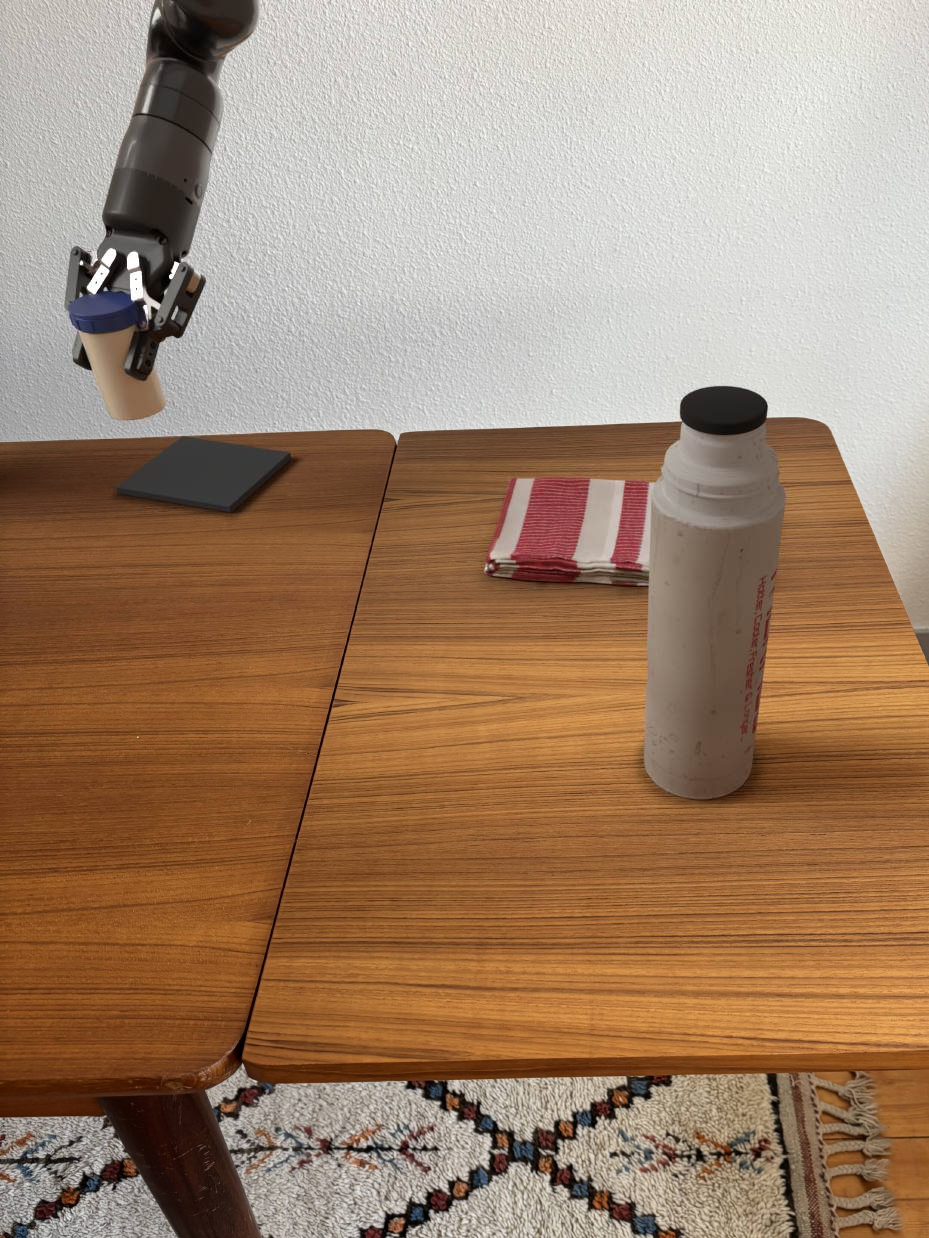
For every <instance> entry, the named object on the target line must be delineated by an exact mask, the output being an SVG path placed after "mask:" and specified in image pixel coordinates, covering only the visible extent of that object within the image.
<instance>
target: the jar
mask: <svg viewBox="0 0 929 1238" xmlns="http://www.w3.org/2000/svg"><path fill="white" fill-rule="evenodd" d="M77 331H79V330H77ZM134 331H136V332H139V329H138V328H137V322H136V323H134V324H132V325H130V326H128V327H125V328H122V329H119V330H114V331H109V332H100V333H90V332H83V331H79V334H80V337H81V340H82V343H83V346H84V348H85V351H86V354H87V357H88V360H89V362H90V365H91V368H92V371H91V372H92V374H93V377H94V379H95V382H96V385H97V388H98V391H99V393H100V397H101V399H102V401H103V404H104V407H105V410H106V413H107V415H108V416H109V418H111V419H114V420H118V421H128V422H129V421H138V420H143V419H146V418H150V417H153V416H155V415H157V414H159V413H161V412H162V411H163V410H164V409H165V408H166V407H167V404H168V401H167V398H166V395H165V392H164V388H163V385H162V382H161V379H160V375H159V372H158V369H157V366H156V363H154V367H153V370H152V372H151V374H150V375H148V378H147V380H146V381H140V380H136V379H135V378H133V377H131V376H129V375H127V374H126V373H125V371H124V366H125V362H126V359H127V355H128V351H129V347H130V344H131V340H132V336H133V333H134Z"/></svg>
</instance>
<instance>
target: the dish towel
mask: <svg viewBox="0 0 929 1238" xmlns="http://www.w3.org/2000/svg"><path fill="white" fill-rule="evenodd" d="M655 482H656V481H655ZM655 482H651V481H643V480H631V479H630V480H629V479H627V480H622V479H621V480H619V479H604V478H592V477H591V478H590V477H566V476H543V477H534V478H533V477H532V478H517V477H516V478H515V477H513V478H512V477H511V478H509V483H508V486H507V488H506V491H505V492H506V493H505V497H504V499H503V505H502V506H501V511H500V513H499V517H498V520H497V524H496V527H495V530H494V533H493V537H492V540H491V542H490V544H489V547H488V550H487V555H486V558H485V567H484V570H483V572H484V574H485V575H486V576H490V577H500V578H510V579H516V580H522V581H538V582H550V583H581V582H582V583H594V584H605V585H621V586H628V587H629V586H630V587H631V586H634V587H635V586H636V587H638V586H639V587H641V586H643V587H644V586H645V587H649V562H650V528H651V494H652V489H653V486H654V484H655Z"/></svg>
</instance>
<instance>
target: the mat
mask: <svg viewBox="0 0 929 1238" xmlns="http://www.w3.org/2000/svg"><path fill="white" fill-rule="evenodd" d="M291 460H292V454H291V452H289V451H282V450H276V449H271V448H270V449H269V448H264V447H263V448H262V447H255V446H250V445H242V444H237V443H229V442H223V441H218V440H217V441H216V440H210V439H203V438H197V437H190V436H189V437H188V436H183V435H182V436H180V438H178V439H176V441H175V442H173V443H171V444H170V445H168V447H166V448H165V449H163V450H162V451H161V452H160V453H158V454H157V455H156V456H155V457H153V458H152V459H150V460H149V461H148V462H147V463H145V464H144V465H142V467H140V468H139V469H138V470H136V471H135V472H134V473H132V474H131V475H130V476H128V477H127V478H126V479H125V480H123V481H121V483H119V484H118V485H117V486H116V487H115V489H116V492H117V494H118V495H125V496H131V497H136V498H141V499H148V500H154V501H160V502H164V503H172V504H176V505H177V504H178V505H182V506H189V507H194V508H200V509H206V510H211V511H218V512H223V513H229V514H232V513H233V512H235V511H236V510H237V508H239V507H240V506H241V505H242V504H243V503H244V502H245V501H246V500H248V499H249V498H250V497H251V496H253V494H254V493H255V492H257V491H258V490H259V489H260V488H261V487H262V486H264V484H265V483H266V482H269V480H270V479H271V478H272V477H273V476H274V475H275V474H277V473H278V472H279V471H280V470H281V469H282V468H283V467H285V465H286V464H288V463H289V462H290V461H291Z"/></svg>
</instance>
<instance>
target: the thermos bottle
mask: <svg viewBox="0 0 929 1238" xmlns="http://www.w3.org/2000/svg"><path fill="white" fill-rule="evenodd" d="M768 410H769V405H768V401H767V400H766V398H765V397H763V395H761V394H759V393H757V392H755V391H753V390H751V389H748V388H744V387H739V386H732V385H711V386H705V387H701V388H698V389H694V390H692V391H690V392H688V393H687V394H685V395H684V396H683V398H682V399H681V400H680V403H679V418H680V420H681V422H682V423H681V426H680V435H679V439H678V440H676V441H675V442H673V444H671V445H670V446H669V447H668V448H667V450H666V451H665V455H664V461H663V465H662V466H660V471H661V475H660V476H659V477H658V478H657V479H656V481H655V484H654V486H653V489H652V494H651V528H650V562H649V586H648V597H647V598H648V600H647V601H648V603H647V604H648V605H647V633H646V634H647V636H646V653H647V655H646V656H647V657H646V658H647V660H646V661H647V677H646V686H645V687H646V688H645V700H644V701H645V707H644V736H643V737H644V739H643V741H644V742H643V765H644V768H645V771H646V773H647V774H648V776H649V778H650V779H651V781H652V782H653V783H654V784H655V785H657V786H658V787H659V788H660V789H662V790H664V791H665V792H667V793H669V794H672V795H674V796H677V797H681V798H684V799H692V800H711V799H718V798H721V797H724V796H727V795H729V794H731V793H734V792H736V791H737V790H738V789H739V788H741V787H742V786H743V785H744V784H745V782H746V781H747V780H748V779H749V777H750V775H751V772H752V768H753V762H754V761H753V760H754V751H755V746H756V745H755V744H756V737H757V729H758V721H759V714H760V713H759V712H760V706H761V698H762V697H761V696H762V691H763V682H764V674H765V667H766V657H767V652H768V651H767V650H768V642H769V635H770V627H771V620H772V613H773V612H772V611H773V605H774V603H773V602H774V594H775V589H776V588H775V587H776V580H777V573H778V572H777V571H778V564H779V557H780V556H779V555H780V548H781V539H782V532H783V524H784V517H785V508H786V501H787V494H786V489H785V488H784V485H782V483H781V481H779V479H780V473H781V472H780V469H779V458H778V454H777V452H776V451H775V449H774V448H773V447H772V446H770V445H769V443H767V442H766V437H767V426H766V423H765V422H766V421H767V418H768V417H767V416H768Z"/></svg>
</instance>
